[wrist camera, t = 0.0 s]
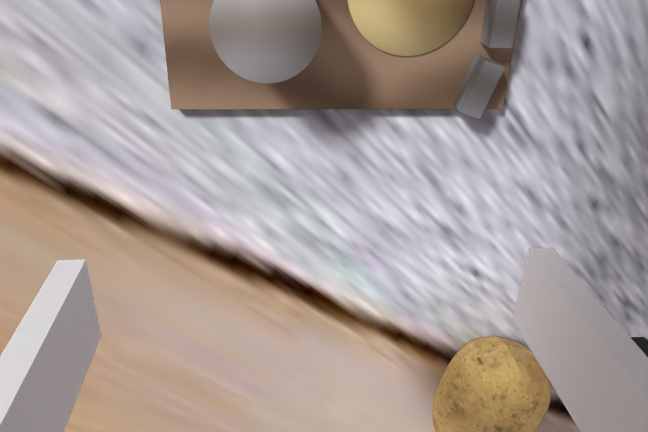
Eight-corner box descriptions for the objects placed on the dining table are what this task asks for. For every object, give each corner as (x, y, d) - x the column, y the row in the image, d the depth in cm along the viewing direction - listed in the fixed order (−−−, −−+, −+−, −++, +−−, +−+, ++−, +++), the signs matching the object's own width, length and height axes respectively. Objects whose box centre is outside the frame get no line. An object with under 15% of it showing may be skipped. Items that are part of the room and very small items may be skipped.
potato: (550, 340, 57) (599, 414, 49) (457, 428, 62) (487, 508, 54) (479, 299, 54) (518, 370, 45) (387, 395, 59) (407, 475, 50)
